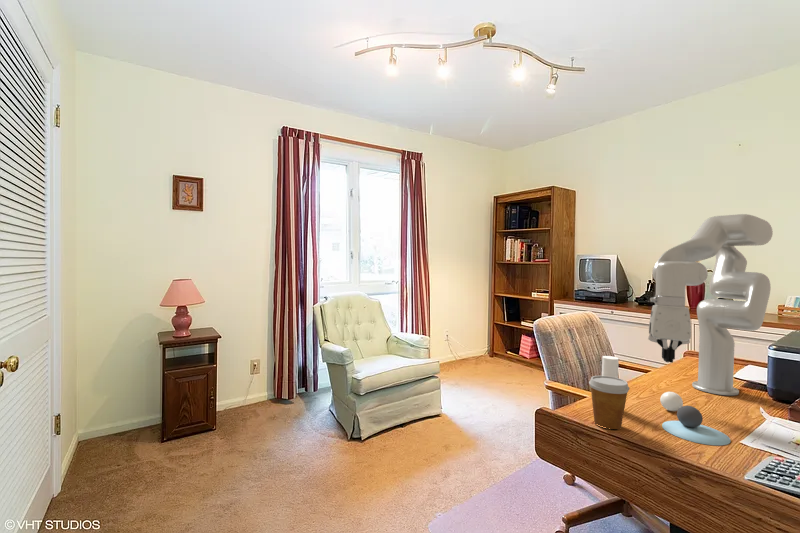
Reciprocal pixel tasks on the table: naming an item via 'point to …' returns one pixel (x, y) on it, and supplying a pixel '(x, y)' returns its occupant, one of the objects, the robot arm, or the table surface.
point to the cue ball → (671, 401)
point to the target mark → (696, 433)
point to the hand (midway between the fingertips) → (668, 361)
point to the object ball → (689, 416)
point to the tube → (610, 366)
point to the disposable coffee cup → (608, 400)
